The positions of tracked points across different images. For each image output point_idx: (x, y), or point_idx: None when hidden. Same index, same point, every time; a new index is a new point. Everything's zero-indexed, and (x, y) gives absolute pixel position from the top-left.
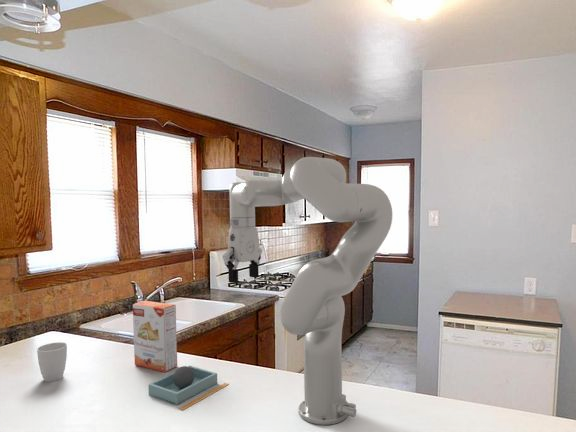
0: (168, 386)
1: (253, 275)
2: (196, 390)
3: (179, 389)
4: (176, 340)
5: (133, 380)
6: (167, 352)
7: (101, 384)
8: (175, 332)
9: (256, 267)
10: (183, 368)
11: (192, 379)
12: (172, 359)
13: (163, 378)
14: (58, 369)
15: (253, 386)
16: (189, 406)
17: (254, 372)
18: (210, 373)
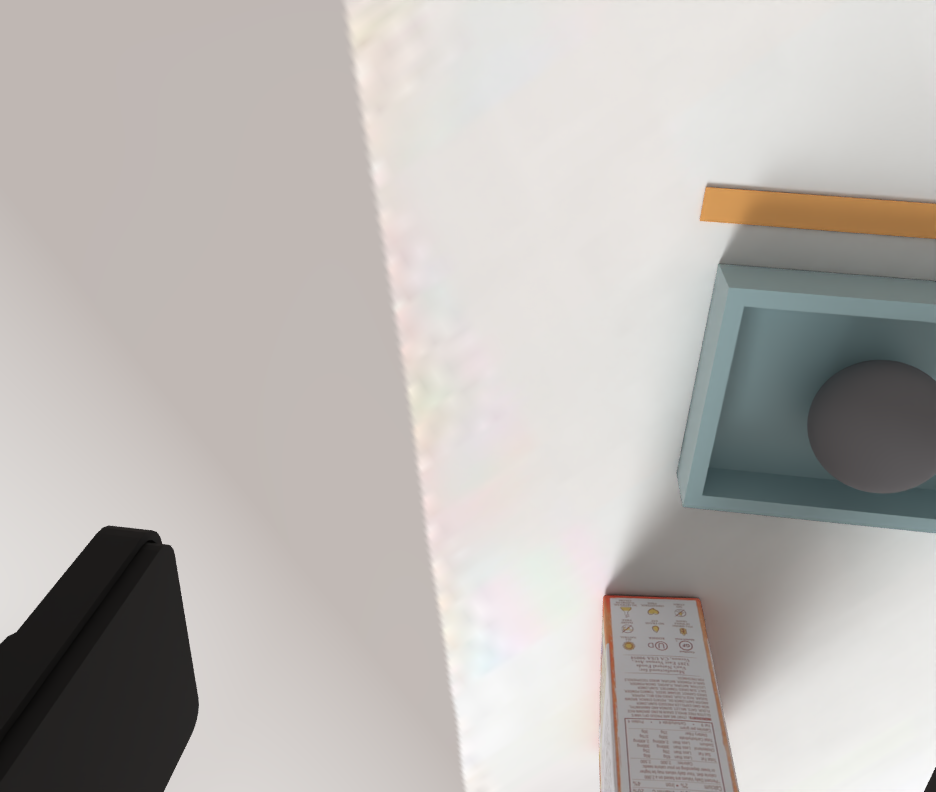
0: None
1: (167, 652)
2: (918, 288)
3: None
4: (613, 713)
5: (844, 663)
6: (694, 677)
7: (933, 745)
8: (624, 763)
9: (7, 782)
10: (920, 450)
11: (883, 364)
12: (647, 632)
13: (910, 520)
14: None
15: (668, 5)
16: None
17: (462, 142)
18: (737, 329)
